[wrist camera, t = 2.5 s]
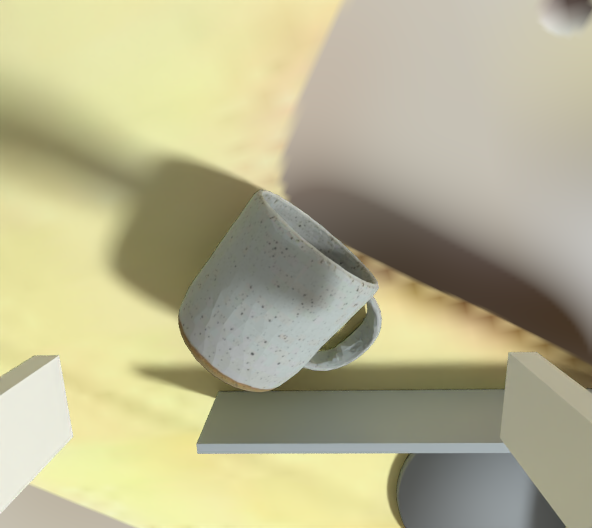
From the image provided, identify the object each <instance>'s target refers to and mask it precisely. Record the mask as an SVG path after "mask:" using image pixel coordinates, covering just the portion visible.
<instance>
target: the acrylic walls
mask: <svg viewBox="0 0 592 528" xmlns="http://www.w3.org/2000/svg"><path fill="white" fill-rule="evenodd" d="M586 390H588V391H589V392H590V393H592V389H586ZM504 393H505V389H484V390H357V391H265V392H252V391H229V392H218V394H217V396H216V399H215V401H214V403H213V406H212V408H211V411H210V413H209V415H208V418H207V420H206V422H205V425H204V427H203V430H202V432H201V434H200V437H199V439H198V442H197V453H198V454H235V453H511V452H510V451H509V449H508V448H507V447H506V445H505V444H504V443H503V441H502V440H501V438H500V432H501V422H502V412H503V403H504Z"/></svg>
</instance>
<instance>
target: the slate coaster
mask: <svg viewBox="0 0 592 528" xmlns="http://www.w3.org/2000/svg"><path fill="white" fill-rule="evenodd" d="M397 503H398V508H399V511H400V515H401V518H402V521H403V523H404V526H405V527H406V528H565V527H566V526H565V525H564V523H563V522H562V521H561V519H560V518H559V516H558V515H557V514H556V512H555V511H554V510H553V508H552V507H551V506H550V504H549V503H548V502H547V500H546V499H545V498H544V496H543V495H542V494H541V492H540V491H539V490H538V488H537V487H536V486H535V484H534V483H533V482H532V480H531V479H530V477H529V476H528V475H527V473H526V472H525V471H524V469H523V468H522V467H521V465H520V464H519V463H518V461H517V460H516V459H515V457H514V456H513V455H512V453H410V454H409V456H408V457H407V459H406V460H405V462H404V464H403V466H402V469H401V471H400V474H399V478H398V482H397Z"/></svg>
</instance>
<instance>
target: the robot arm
mask: <svg viewBox="0 0 592 528" xmlns="http://www.w3.org/2000/svg"><path fill="white" fill-rule="evenodd" d="M72 437H73V432H72V427H71V421H70V415H69V410H68V404H67V398H66V392H65V387H64V381H63V375H62V369H61V364H60V358H59V355H47V356H33V357H31V358H30V359H28V360H26V361H25V362H23V363H22V364H20V365H18V366H17V367H15V368H13V369H12V370H10V371H9V372H7V373H5V374H4V375H2V376H1V377H0V514H1V513H2V512H3V511H4V510H5V508H6V507H7V506H8V505H9V504H10V503H11V502H12V501H13V500H14V499H15V498H16V496H18V495H19V494H20V493H21V491H22V490H23V489H24V488H25V487H26V486H27V485H28V484H29V483H30V482H31V481H32V480H33V479H34V478H35V477H36V475H37V474H38V473H39V472H40V471H41V470H42V469H43V468H44V467H45V466H46V465H47V464H48V463H49V462H50V461H51V460H52V458H53V457H54V456H55V455H56V454H57V453H58V452H59V451H60V450H61V449H62V448H63V447H64V446H65V445H66V444H67V443H68V441H69V440H70V439H71V438H72ZM500 438H501V440H502V441H503V443H504V444H505V445H506V447H507V448H508V449H509V451H510V452H511V453H512V455H513V456H514V457H515V459H516V460H517V461H518V463H519V464H520V465H521V467H522V468H523V469H524V471H525V472H526V473H527V475H528V476H529V477H530V479H531V480H532V482H533V483H534V484H535V486H536V487H537V488H538V490H539V491H540V492H541V494H542V495H543V496H544V498H545V499H546V500H547V502H548V503H549V504H550V506H551V507H552V508H553V510H554V511H555V512H556V514H557V515H558V516H559V518H560V519H561V521H562V522H563V523H564V525H565V526H566V527H567V528H592V393H590V392H589V391H588V390H586V389H585V388H584V387H582V386H581V385H580V384H578V383H577V382H576V381H574V380H573V379H572V378H570V377H569V376H568V375H566V374H565V373H564V372H562V371H561V370H560V369H558V368H557V367H556V366H554V365H553V364H552V363H550V362H549V361H548V360H546V359H545V358H544V357H542V356H541V355H540V354H538V353H537V352H509V353H508V363H507V373H506V383H505V393H504V403H503V412H502V422H501V432H500Z"/></svg>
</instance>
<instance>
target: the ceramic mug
mask: <svg viewBox="0 0 592 528" xmlns="http://www.w3.org/2000/svg"><path fill="white" fill-rule="evenodd" d="M378 289H379V286H378V282H377V280H376V279H375V277H374V276H373V274H372V273H371V272H370V271H369V270H368V269H367V268H366V266H365V265H364V264H363V263H362V262H361V261H360V260H359V259H358V258H357V257H356V256H355V255H354V254H353V253H352V252H351V251H350V250H349V249H348V248H347V247H346V246H344V245H343V244H342V243H341V242H340V241H339V240H338V239H336V238H335V237H334V236H332V235H331V234H330V233H329V232H328V231H327V230H326V229H325V228H323V227H322V226H321V225H320V224H318V223H317V222H316V221H315V220H313V219H312V218H311V217H309V215H307V214H305V213H304V212H303V211H302V210H300V209H299V208H297V207H295V206H294V205H293V204H291V203H290V202H288V201H287V200H285V199H283V198H282V197H280V196H279V195H277V194H274V193H272V192H270V191H266V190H259V191H257V192H256V193H255V194H254V195H253V196H252V198H251V199H250V201H249V202H248V204H247V205H246V207H245V208H244V210H243V211H242V213H241V214H240V216H239V217H238V218H237V220H236V221H235V222H234V224H233V225H232V226H231V228H230V229H229V231H228V232H227V234H226V235H225V237H224V238H223V239H222V241H221V242H220V244H219V245H218V247H217V248H216V250H215V251H214V253H213V254H212V256H211V257H210V259H209V260H208V261H207V263H206V264H205V265H204V267H203V268H202V270H201V271H200V272H199V274H198V275H197V276H196V278H195V279H194V281H193V282H192V284H191V285H190V287H189V289H188V291H187V293H186V295H185V298H184V300H183V301H182V304H181V307H180V310H179V315H178V324H179V328H180V332H181V335H182V338H183V340H184V342H185V344H186V346H187V347H188V348H189V350H190V351H191V353H192V354H193V356H194V357H195V359H196V360H197V361H198V362H199V363H200V364H201V365H202V366H203V367H204V368H206V369H207V370H208V371H209V372H210V373H211V374H213V375H214V376H215V377H217V378H219V379H220V380H222V381H224V382H225V383H227V384H229V385H231V386H233V387H236V388H239V389H242V390H245V391H252V392H265V391H270V390H273V389H275V388H277V387H278V386H280V385H282V384H283V383H284V382H286V381H287V380H289V379H290V378H291V377H293V376H294V375H295V374H297V373H298V372H299V371H300V370H301V369H302V368H307V369H310V370H318V371H328V370H333V369H337V368H339V367H342V366H345V365H347V364H349V363H350V362H352V361H354V360H355V359H357V358H358V357H360V356H361V355H362V354H363V353H364V352H365V351H366V350H368V349H369V348H370V346H371V345H372V344H373V343H374V341H375V340H376V338H377V337H378V335H379V332H380V329H381V319H382V318H381V311H380V308H379V306H378V304H377V302H376V300H375V298H374V297H373V295H374V294H375V293H376V291H377V290H378ZM366 303H367V314H366V317H365V318H364V320H363V323H362V324H361V325H360V326H359V327H358V328H357V329H356V330H355V331H354V332H353V333H352V334H351V335H350V336H348V337H347V338H346V339H345V340H344V341H343V342H341V343H339V344H338V345H337V346H336V347H335V348H332V349H330V350H325V351H318V350H319V349H320V348H321V347H322V346H323V345H324V344H325V343H326V342H327V341H328V340H329V339H330V338H331V337H332V336H333V335H334V334H335V333H336V332H337V331H338V330H339V329H340V328H341V327H342V326H343V325H345V324H346V323H347V322H348V320H349V319H350V318H351V317H352V316H353V315H354V314H355V313H356V312H358V311H359V310H360V309H361V308H362V307H363V306H364V305H365V304H366Z"/></svg>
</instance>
